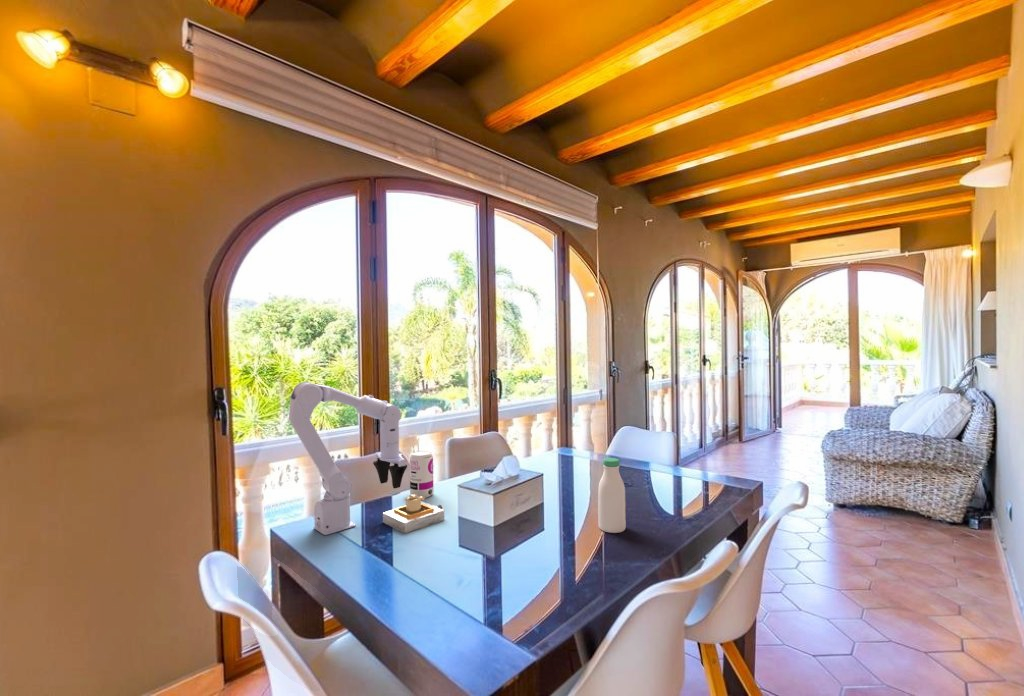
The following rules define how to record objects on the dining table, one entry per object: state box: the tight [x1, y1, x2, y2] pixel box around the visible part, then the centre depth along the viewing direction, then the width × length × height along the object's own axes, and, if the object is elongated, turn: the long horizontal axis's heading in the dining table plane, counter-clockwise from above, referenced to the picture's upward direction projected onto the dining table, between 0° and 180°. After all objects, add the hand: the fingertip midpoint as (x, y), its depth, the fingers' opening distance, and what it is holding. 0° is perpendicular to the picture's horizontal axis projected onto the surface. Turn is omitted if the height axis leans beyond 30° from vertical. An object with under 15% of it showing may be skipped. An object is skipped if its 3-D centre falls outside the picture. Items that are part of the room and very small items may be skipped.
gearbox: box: [382, 500, 445, 534], centre depth 142 cm, size 17×12×4 cm
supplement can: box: [409, 450, 435, 499], centre depth 166 cm, size 8×8×15 cm
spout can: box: [405, 494, 426, 515], centre depth 142 cm, size 6×4×8 cm
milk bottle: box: [597, 457, 627, 534], centre depth 134 cm, size 8×8×20 cm
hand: (390, 485), depth 147 cm, fingers open, 7 cm apart
